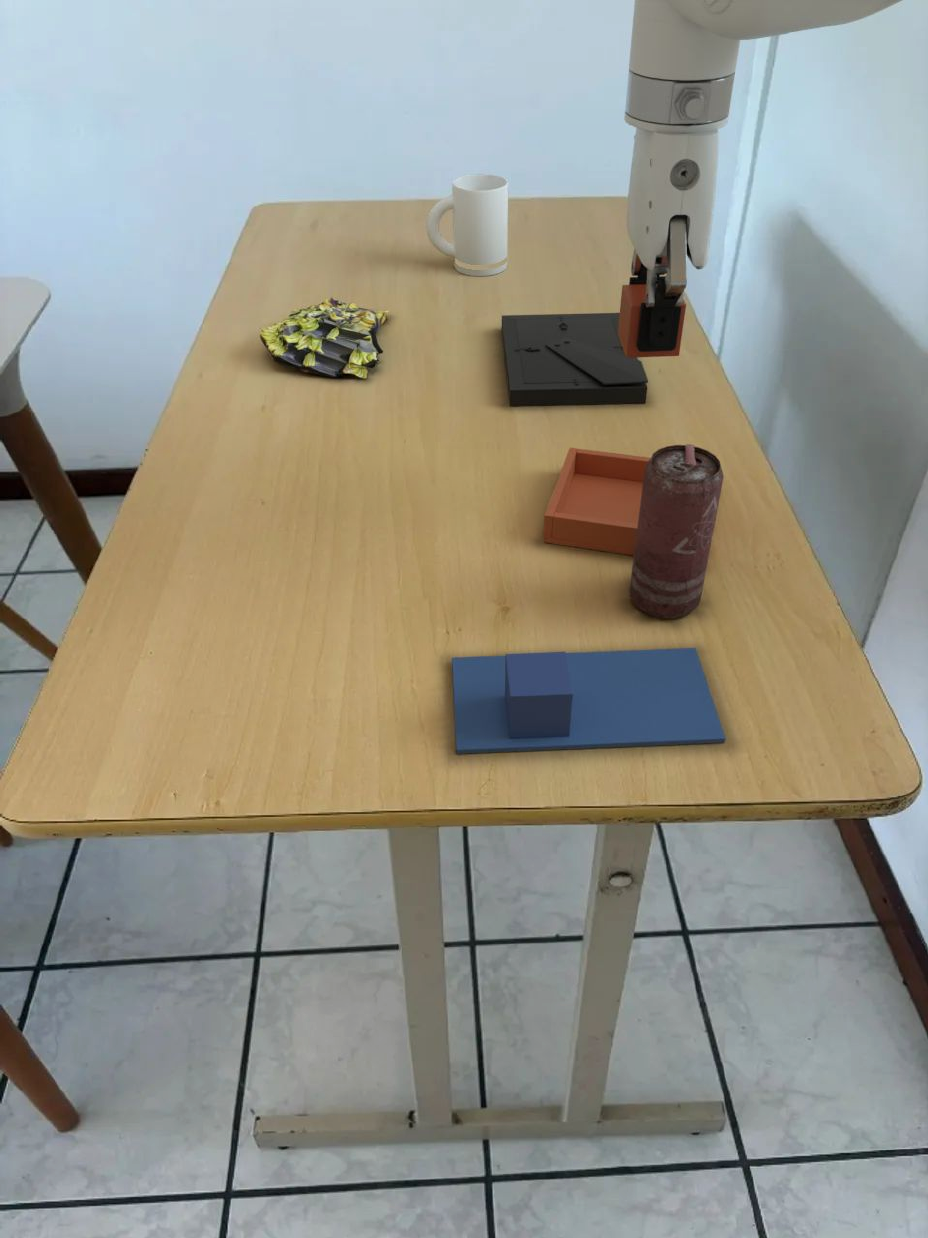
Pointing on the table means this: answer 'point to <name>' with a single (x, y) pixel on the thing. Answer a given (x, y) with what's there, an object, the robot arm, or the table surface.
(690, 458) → the can
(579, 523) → the terracotta tray
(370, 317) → the banana patterned fabric
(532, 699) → the blue block
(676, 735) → the blue mat
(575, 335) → the picture frame
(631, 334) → the terracotta block
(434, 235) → the mug
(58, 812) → the table surface
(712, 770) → the table surface
